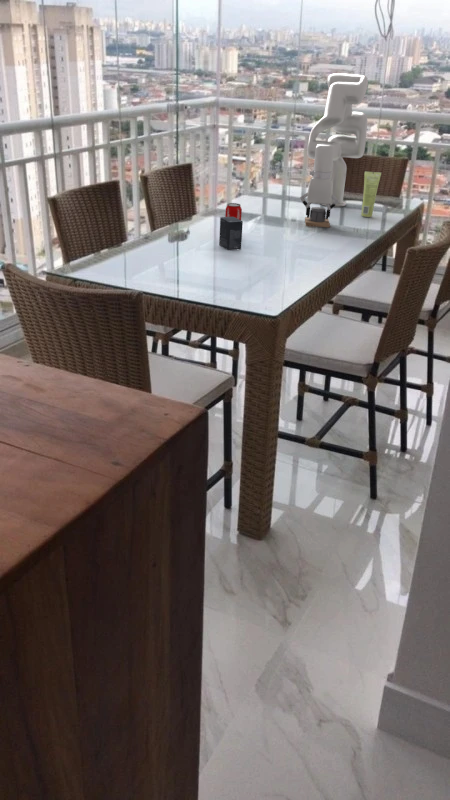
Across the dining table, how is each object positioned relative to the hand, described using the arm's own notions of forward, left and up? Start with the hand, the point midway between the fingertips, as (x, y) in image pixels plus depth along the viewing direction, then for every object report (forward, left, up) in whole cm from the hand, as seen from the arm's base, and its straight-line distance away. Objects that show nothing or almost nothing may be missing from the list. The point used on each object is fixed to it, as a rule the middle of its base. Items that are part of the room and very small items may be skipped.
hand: (317, 217), depth 300 cm
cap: (0, 0, -1) cm, 1 cm away
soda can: (+28, -35, -3) cm, 45 cm away
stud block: (0, 0, -3) cm, 3 cm away
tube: (-21, +24, -3) cm, 32 cm away
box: (+46, -35, -3) cm, 58 cm away
